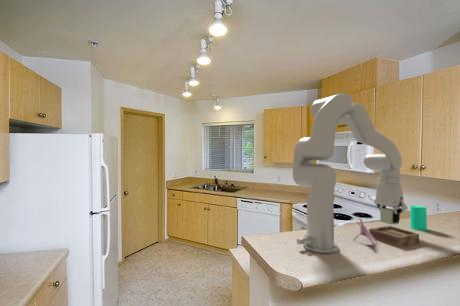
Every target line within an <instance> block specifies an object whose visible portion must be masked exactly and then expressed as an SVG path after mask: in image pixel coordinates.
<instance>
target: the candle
mask: <svg viewBox="0 0 460 306" xmlns="http://www.w3.org/2000/svg"><path fill="white" fill-rule="evenodd" d="M409 208H410V210H409V211H410V215H409V218H410V219H409V220H410V222H409V223H410V225H409V227H410V228H411V229H413V230H416V231H427V229H428V228H427V226H428V224H427V220H428V218H427V216H428V215H427V206H421V205H419V204H417V205H413V204H410V205H409Z"/></svg>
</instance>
